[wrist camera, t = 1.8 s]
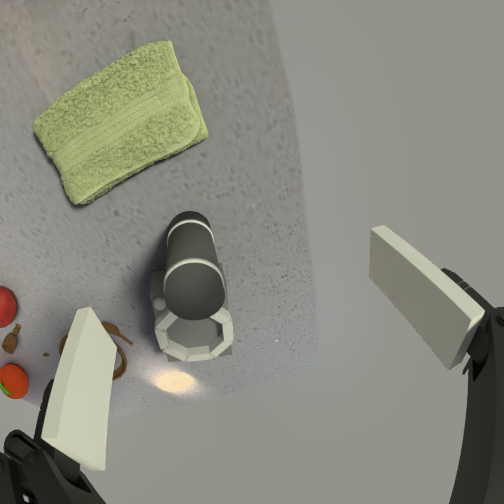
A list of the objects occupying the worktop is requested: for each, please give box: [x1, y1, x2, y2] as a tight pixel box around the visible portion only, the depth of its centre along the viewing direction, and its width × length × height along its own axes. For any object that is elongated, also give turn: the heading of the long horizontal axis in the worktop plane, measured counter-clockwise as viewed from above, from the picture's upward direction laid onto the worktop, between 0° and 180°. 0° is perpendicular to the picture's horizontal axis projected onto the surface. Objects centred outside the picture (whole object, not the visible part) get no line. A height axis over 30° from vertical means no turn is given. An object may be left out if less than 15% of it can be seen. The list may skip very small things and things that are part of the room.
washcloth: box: [32, 41, 209, 205], centre depth 25 cm, size 13×18×3 cm
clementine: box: [0, 364, 29, 399], centre depth 36 cm, size 8×7×7 cm
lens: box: [164, 211, 225, 321], centre depth 29 cm, size 5×5×13 cm
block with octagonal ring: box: [149, 263, 234, 362], centre depth 37 cm, size 12×9×6 cm
